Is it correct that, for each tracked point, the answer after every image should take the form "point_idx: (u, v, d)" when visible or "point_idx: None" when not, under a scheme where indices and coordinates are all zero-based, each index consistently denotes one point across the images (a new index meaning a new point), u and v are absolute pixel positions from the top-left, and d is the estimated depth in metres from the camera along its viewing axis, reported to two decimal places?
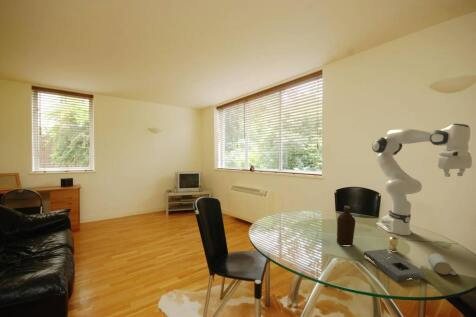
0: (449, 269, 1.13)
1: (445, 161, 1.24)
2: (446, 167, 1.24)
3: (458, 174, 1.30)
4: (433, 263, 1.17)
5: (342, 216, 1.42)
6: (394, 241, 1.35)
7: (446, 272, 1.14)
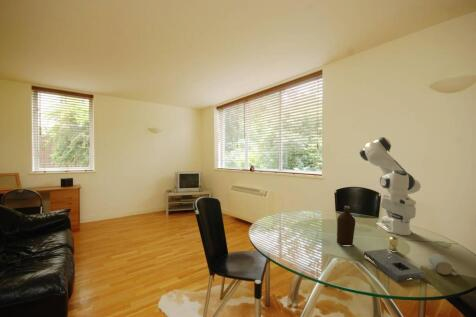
0: (450, 269, 1.13)
1: (415, 211, 1.25)
2: None
3: (390, 216, 1.39)
4: (434, 263, 1.17)
5: (342, 216, 1.42)
6: (394, 241, 1.35)
7: (447, 272, 1.13)
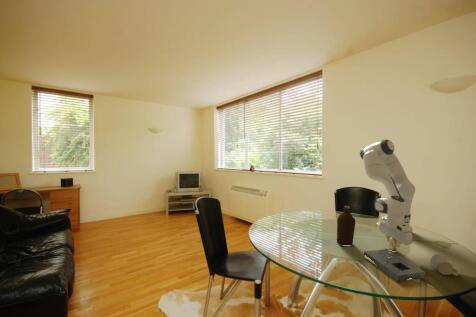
0: (452, 269, 1.13)
1: (411, 237, 1.27)
2: None
3: None
4: (435, 263, 1.16)
5: (342, 216, 1.42)
6: (394, 241, 1.35)
7: (449, 272, 1.13)
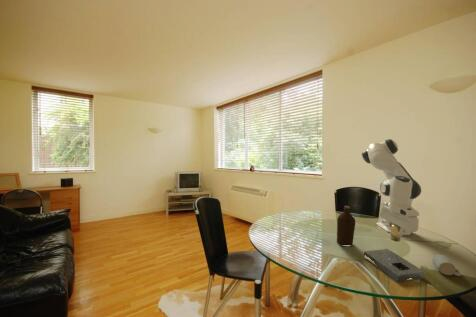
0: (454, 270, 1.12)
1: (417, 223, 1.08)
2: None
3: None
4: (437, 264, 1.16)
5: (342, 216, 1.42)
6: (397, 228, 1.16)
7: (451, 273, 1.13)
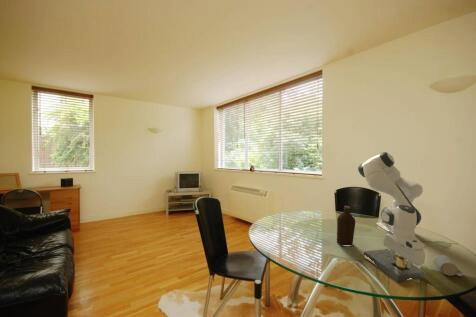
0: (455, 270, 1.12)
1: (424, 256, 1.05)
2: None
3: (395, 257, 1.19)
4: (439, 264, 1.16)
5: (342, 216, 1.42)
6: (402, 262, 1.13)
7: (452, 273, 1.13)
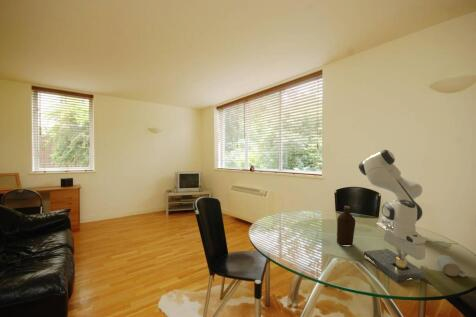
0: (458, 271, 1.12)
1: (424, 251, 1.05)
2: None
3: None
4: (442, 264, 1.16)
5: (342, 216, 1.42)
6: (402, 262, 1.13)
7: (455, 274, 1.12)
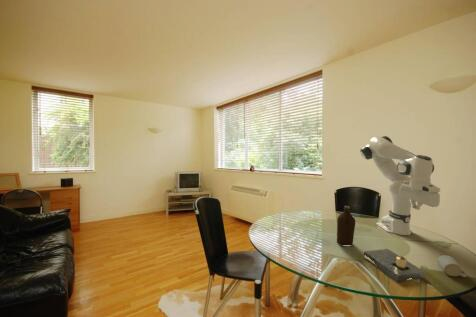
0: (459, 271, 1.11)
1: (439, 198, 1.15)
2: None
3: None
4: (443, 265, 1.15)
5: (342, 216, 1.42)
6: (402, 262, 1.13)
7: (456, 274, 1.12)
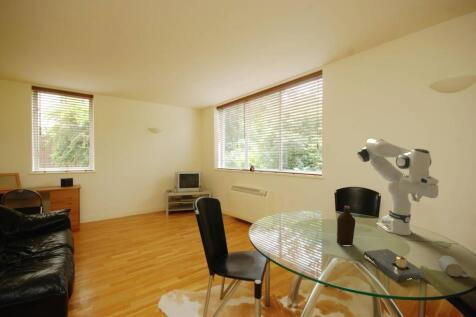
0: (461, 271, 1.11)
1: (437, 190, 1.18)
2: None
3: None
4: (444, 265, 1.15)
5: (342, 216, 1.42)
6: (402, 262, 1.13)
7: (458, 274, 1.12)
